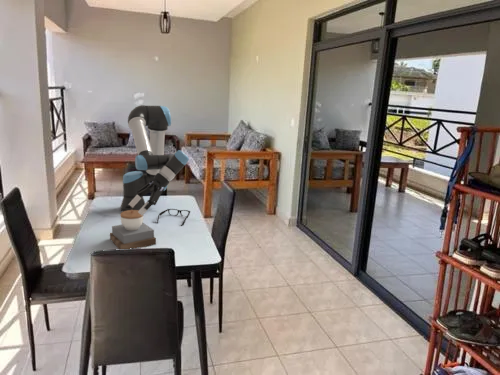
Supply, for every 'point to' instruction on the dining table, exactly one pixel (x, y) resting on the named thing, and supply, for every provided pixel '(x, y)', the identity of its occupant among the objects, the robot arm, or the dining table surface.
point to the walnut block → (132, 243)
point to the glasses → (175, 215)
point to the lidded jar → (131, 219)
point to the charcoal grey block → (132, 233)
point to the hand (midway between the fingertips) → (135, 210)
